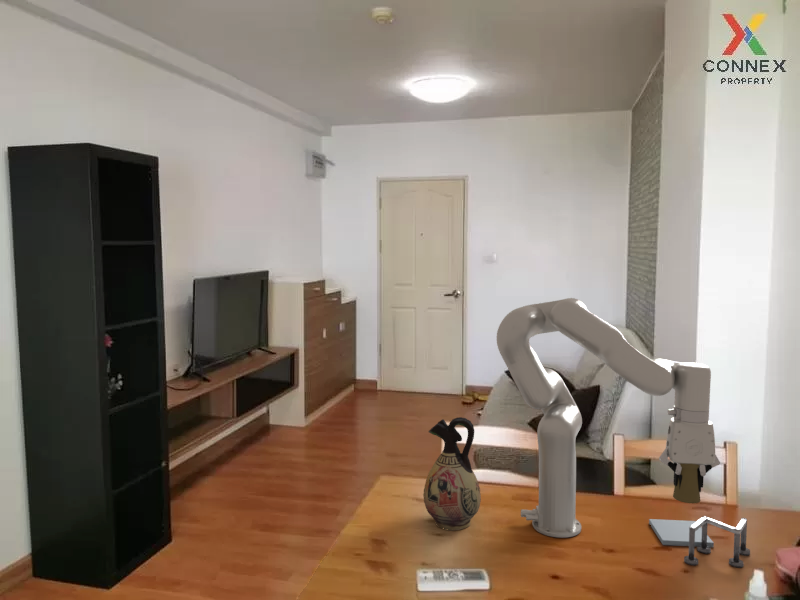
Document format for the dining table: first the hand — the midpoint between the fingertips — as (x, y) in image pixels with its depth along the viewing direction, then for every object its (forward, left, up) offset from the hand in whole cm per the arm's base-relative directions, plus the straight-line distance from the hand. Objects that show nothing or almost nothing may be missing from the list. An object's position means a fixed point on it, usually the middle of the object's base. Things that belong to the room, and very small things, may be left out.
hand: (688, 488), depth 145 cm
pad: (+2, +9, -16) cm, 18 cm away
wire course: (+7, -2, -16) cm, 17 cm away
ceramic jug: (-56, +9, -16) cm, 59 cm away
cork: (0, 0, -3) cm, 3 cm away
